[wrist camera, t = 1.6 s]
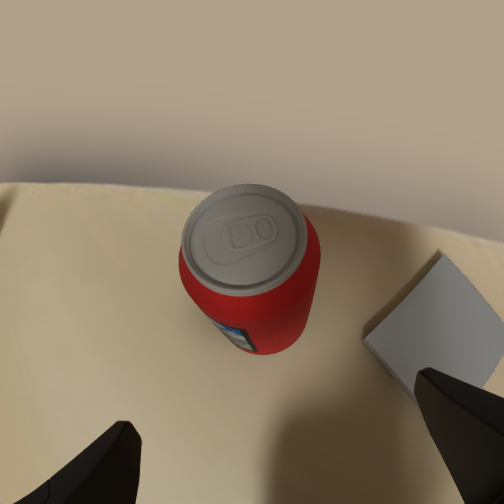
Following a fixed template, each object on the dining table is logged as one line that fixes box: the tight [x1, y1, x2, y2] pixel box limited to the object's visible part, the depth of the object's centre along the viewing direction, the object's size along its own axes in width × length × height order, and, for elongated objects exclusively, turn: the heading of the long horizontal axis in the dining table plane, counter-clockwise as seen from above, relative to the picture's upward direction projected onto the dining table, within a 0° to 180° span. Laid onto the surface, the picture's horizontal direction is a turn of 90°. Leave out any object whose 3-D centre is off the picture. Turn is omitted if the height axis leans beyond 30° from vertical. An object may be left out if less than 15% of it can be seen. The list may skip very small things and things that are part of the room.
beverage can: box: [179, 184, 321, 355], centre depth 17 cm, size 7×7×12 cm
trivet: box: [362, 254, 504, 407], centre depth 19 cm, size 11×11×1 cm
